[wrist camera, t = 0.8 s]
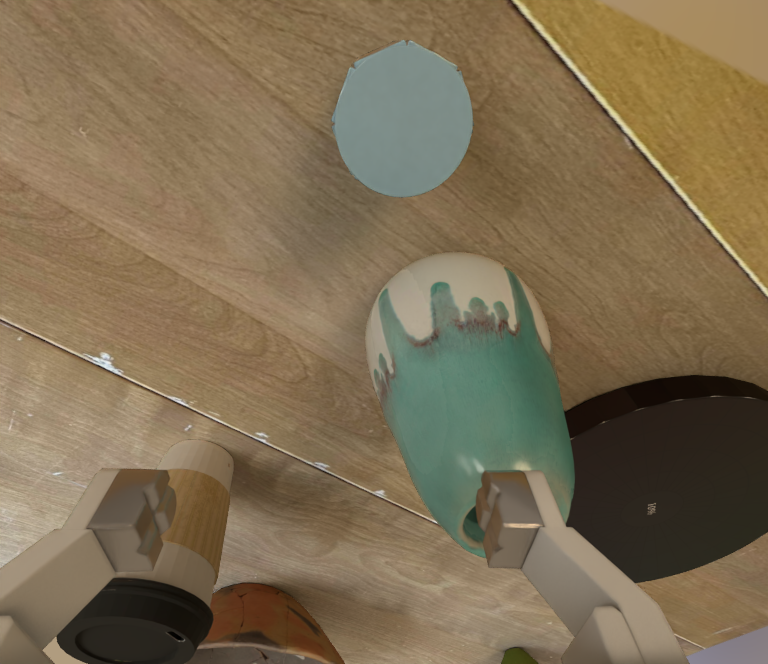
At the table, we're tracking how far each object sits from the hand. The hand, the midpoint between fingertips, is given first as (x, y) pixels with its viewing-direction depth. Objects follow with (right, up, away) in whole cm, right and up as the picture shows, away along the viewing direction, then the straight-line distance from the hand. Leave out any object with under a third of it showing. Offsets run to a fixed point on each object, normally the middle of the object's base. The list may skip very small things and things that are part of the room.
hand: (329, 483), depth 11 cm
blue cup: (+2, +17, +13) cm, 22 cm away
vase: (+6, +6, +21) cm, 23 cm away
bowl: (-15, -31, +45) cm, 56 cm away
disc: (+28, -12, +34) cm, 45 cm away
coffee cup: (-16, -8, +30) cm, 35 cm away
